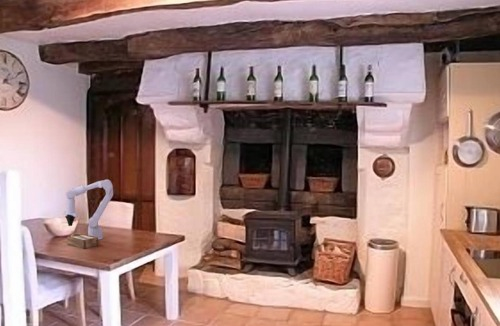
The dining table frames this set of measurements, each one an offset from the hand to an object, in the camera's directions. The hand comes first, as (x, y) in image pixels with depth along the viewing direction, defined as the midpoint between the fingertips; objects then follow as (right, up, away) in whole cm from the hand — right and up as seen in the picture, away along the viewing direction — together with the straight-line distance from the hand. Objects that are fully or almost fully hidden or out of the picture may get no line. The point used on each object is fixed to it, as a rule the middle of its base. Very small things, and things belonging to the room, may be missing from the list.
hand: (70, 225), depth 334 cm
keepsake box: (+13, -12, -13) cm, 22 cm away
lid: (+13, -7, -14) cm, 20 cm away
